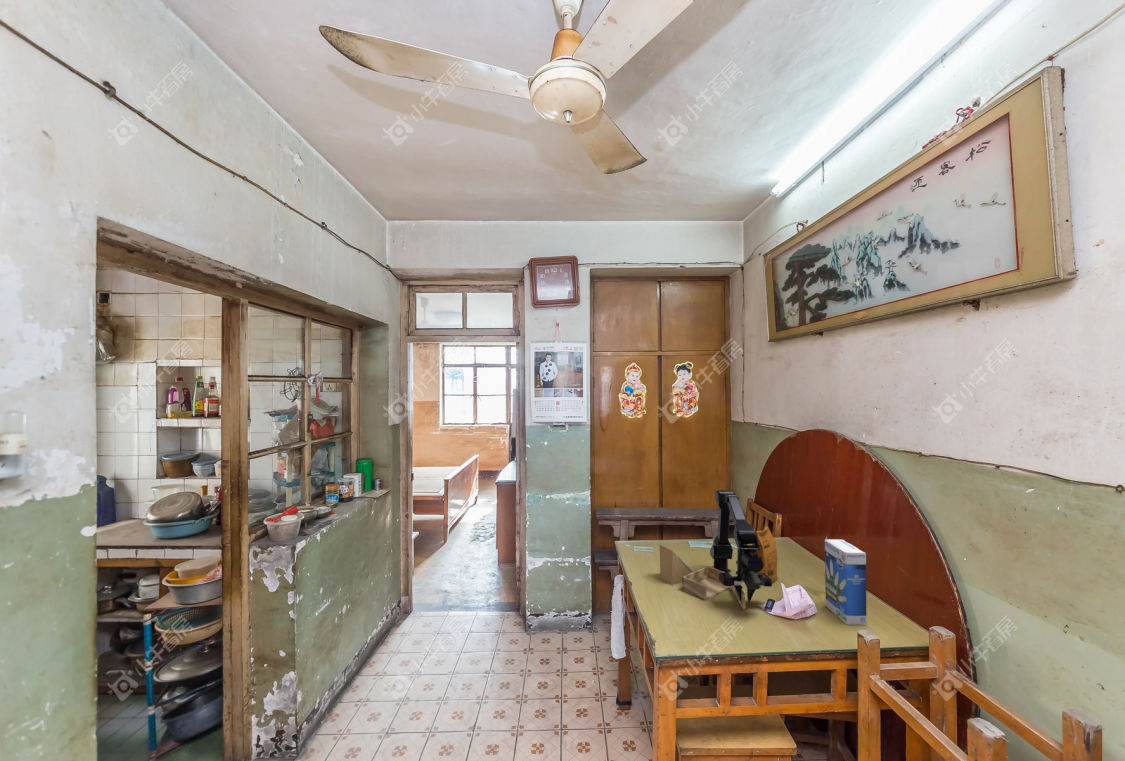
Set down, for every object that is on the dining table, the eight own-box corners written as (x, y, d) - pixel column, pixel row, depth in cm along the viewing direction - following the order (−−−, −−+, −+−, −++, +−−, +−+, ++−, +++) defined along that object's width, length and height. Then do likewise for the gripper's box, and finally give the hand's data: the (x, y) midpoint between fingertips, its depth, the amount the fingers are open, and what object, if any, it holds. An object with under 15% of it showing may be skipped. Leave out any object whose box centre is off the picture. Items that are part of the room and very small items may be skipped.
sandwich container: (699, 578, 188) (699, 544, 189) (673, 585, 182) (672, 550, 182) (686, 570, 196) (685, 538, 196) (659, 577, 189) (659, 544, 190)
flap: (731, 588, 178) (731, 575, 178) (733, 588, 177) (733, 575, 178) (743, 609, 161) (742, 594, 161) (745, 609, 161) (745, 594, 161)
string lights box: (824, 606, 163) (823, 538, 164) (844, 606, 163) (843, 538, 163) (846, 625, 150) (845, 552, 150) (868, 625, 150) (867, 552, 150)
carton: (708, 578, 188) (708, 565, 188) (731, 587, 179) (731, 574, 179) (682, 589, 177) (682, 576, 177) (705, 600, 168) (705, 587, 168)
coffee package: (744, 578, 187) (743, 528, 187) (759, 571, 194) (758, 523, 194) (765, 587, 179) (764, 535, 179) (781, 579, 186) (780, 529, 186)
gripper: (729, 569, 156) (729, 612, 156) (779, 570, 156) (779, 613, 156) (718, 557, 167) (717, 597, 167) (765, 558, 168) (764, 597, 167)
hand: (744, 601), depth 164 cm, fingers open, 3 cm apart
